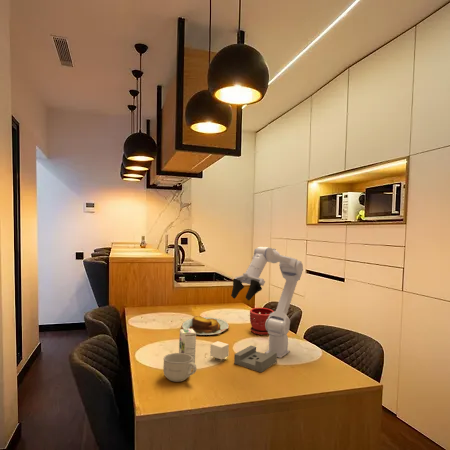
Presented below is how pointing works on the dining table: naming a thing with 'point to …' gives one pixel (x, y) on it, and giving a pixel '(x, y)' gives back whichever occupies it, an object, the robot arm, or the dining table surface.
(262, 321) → the plant pot
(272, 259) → the robot arm
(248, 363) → the socket
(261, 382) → the dining table surface
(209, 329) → the food on plate
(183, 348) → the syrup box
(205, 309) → the dining table surface
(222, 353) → the cream cube
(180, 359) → the teacup
